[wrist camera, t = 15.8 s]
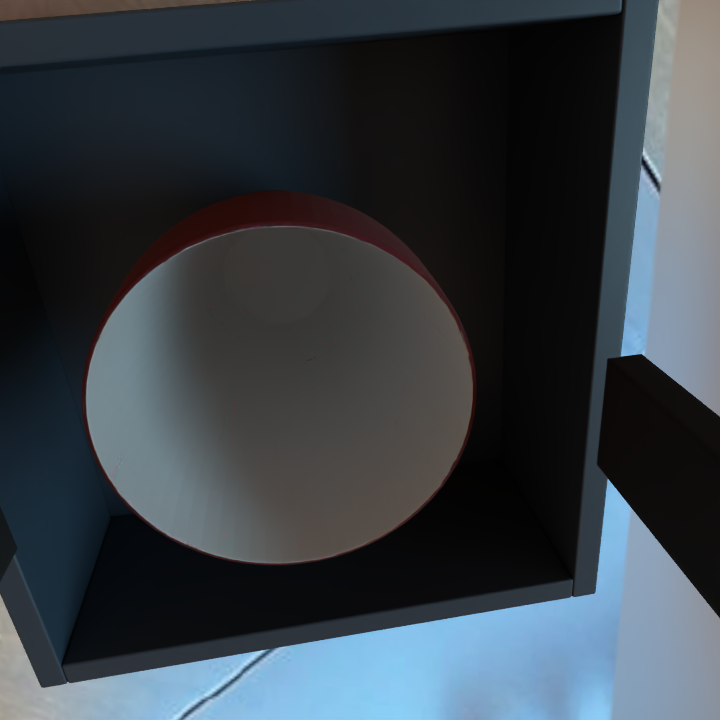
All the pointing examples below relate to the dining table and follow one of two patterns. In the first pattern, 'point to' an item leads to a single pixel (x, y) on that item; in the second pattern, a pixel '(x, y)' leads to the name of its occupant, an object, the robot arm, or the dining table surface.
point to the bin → (373, 198)
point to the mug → (278, 382)
